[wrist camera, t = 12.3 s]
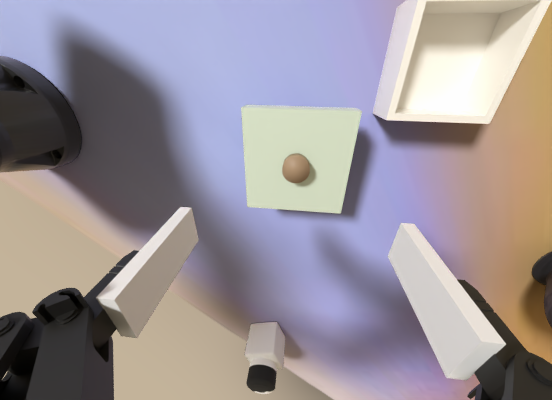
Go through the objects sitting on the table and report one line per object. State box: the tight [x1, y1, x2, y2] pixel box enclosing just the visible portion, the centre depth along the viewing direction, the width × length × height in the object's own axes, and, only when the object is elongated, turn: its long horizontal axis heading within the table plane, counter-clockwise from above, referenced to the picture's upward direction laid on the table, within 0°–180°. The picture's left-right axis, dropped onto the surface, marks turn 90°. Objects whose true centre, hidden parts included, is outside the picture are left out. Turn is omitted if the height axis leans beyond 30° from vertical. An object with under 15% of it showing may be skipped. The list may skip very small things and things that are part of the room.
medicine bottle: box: [244, 322, 285, 394], centre depth 49 cm, size 7×7×12 cm
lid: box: [241, 105, 362, 214], centre depth 25 cm, size 12×12×4 cm
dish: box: [373, 0, 551, 124], centre depth 21 cm, size 10×10×5 cm
